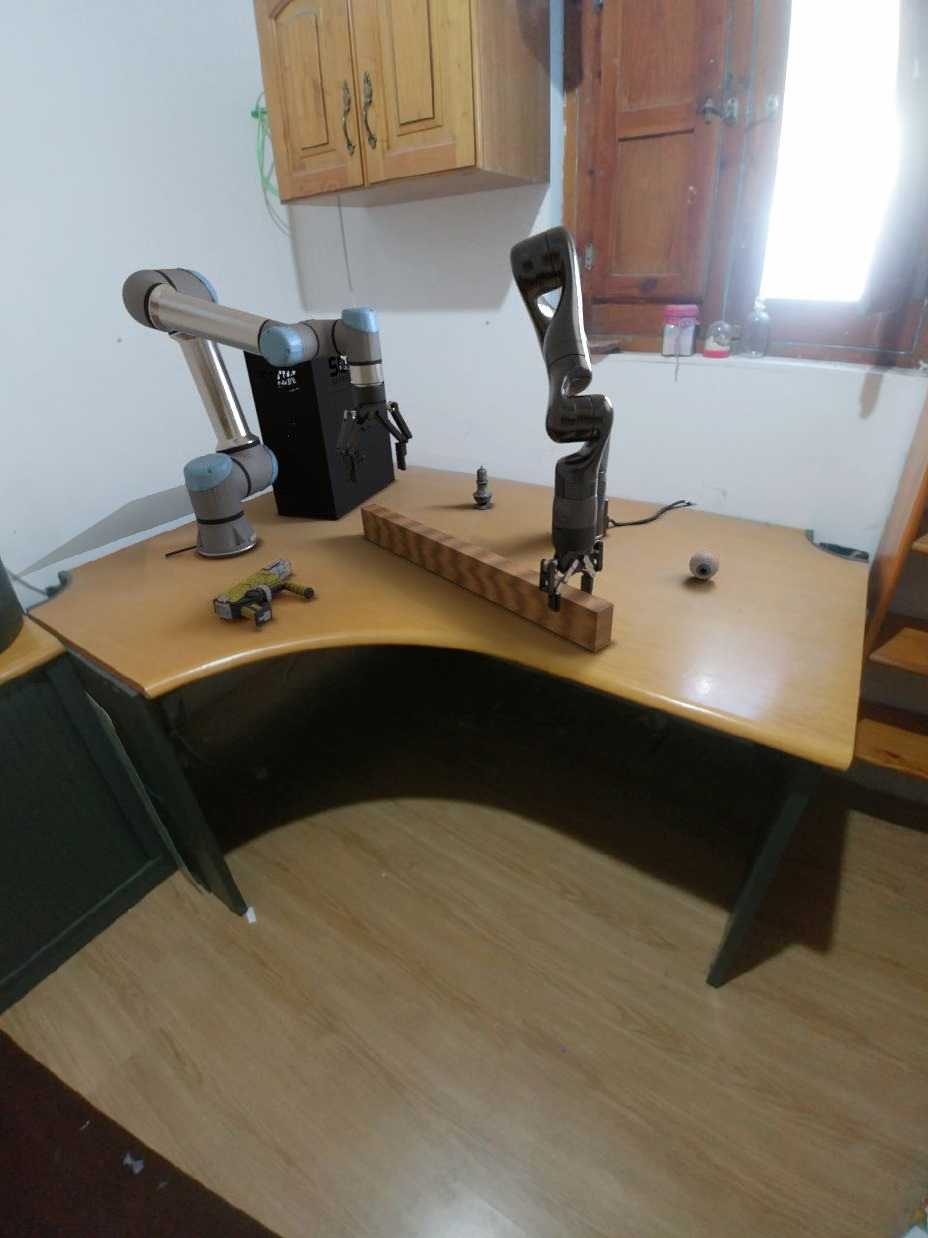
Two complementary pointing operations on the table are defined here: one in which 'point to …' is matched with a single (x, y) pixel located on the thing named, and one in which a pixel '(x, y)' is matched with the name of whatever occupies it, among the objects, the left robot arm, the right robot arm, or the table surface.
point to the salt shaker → (482, 490)
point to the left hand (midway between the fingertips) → (379, 475)
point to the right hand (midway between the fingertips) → (570, 602)
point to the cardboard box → (315, 437)
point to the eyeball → (704, 564)
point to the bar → (492, 577)
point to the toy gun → (258, 594)
